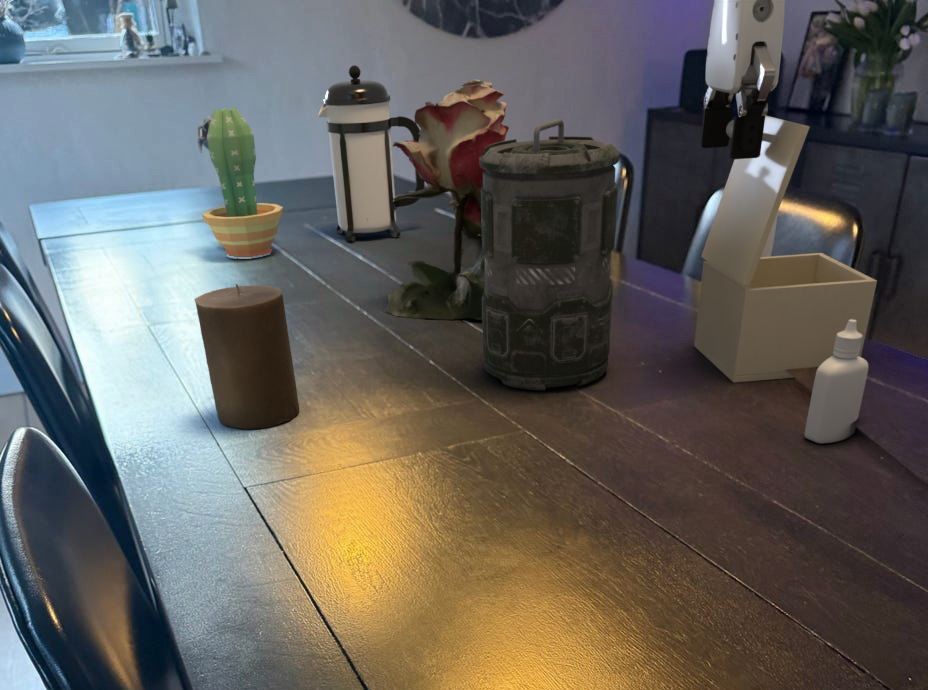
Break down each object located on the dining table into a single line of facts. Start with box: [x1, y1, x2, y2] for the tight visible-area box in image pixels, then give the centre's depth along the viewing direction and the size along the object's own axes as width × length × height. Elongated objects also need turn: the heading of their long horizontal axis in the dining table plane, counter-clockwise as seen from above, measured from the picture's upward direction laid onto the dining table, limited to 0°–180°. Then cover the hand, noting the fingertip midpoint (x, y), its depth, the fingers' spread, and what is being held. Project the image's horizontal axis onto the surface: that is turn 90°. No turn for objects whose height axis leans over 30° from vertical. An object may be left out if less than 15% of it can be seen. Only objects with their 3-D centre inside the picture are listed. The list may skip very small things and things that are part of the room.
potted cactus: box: [195, 107, 284, 257], centre depth 175 cm, size 15×15×25 cm
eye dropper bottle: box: [803, 319, 869, 445], centre depth 94 cm, size 4×6×12 cm
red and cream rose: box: [367, 79, 510, 321], centre depth 139 cm, size 26×29×30 cm
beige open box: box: [693, 252, 878, 383], centre depth 115 cm, size 16×15×11 cm
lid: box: [700, 115, 811, 287], centre depth 107 cm, size 16×15×5 cm
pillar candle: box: [194, 283, 300, 430], centre depth 106 cm, size 10×10×15 cm
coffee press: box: [317, 65, 426, 243], centre depth 184 cm, size 17×16×30 cm
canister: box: [479, 118, 621, 392], centre depth 110 cm, size 16×16×28 cm
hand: (728, 152), depth 104 cm, fingers open, 9 cm apart
